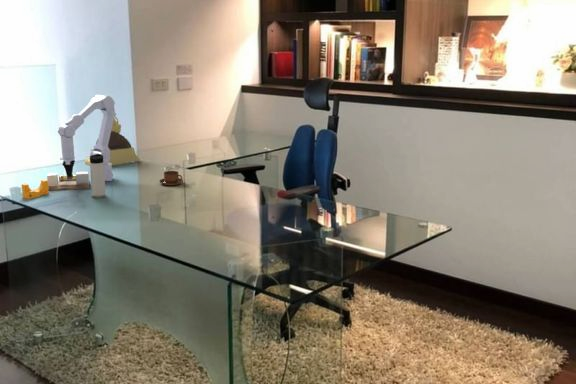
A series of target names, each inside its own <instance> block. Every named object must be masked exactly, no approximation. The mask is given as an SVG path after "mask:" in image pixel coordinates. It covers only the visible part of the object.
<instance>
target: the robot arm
mask: <svg viewBox="0 0 576 384" xmlns="http://www.w3.org/2000/svg"><path fill="white" fill-rule="evenodd" d="M115 103H116V102H115V100H114V98H113V97H111V96H109V95H103V94H96V95H94V97H92V98H91V100H90V101H89V103H88V104H86V106H85V107H84V108H83V109H82V110H81V111H80V112H79V113H75V114H72V115H71V118H70V119H69V120H67V121H65V123H64V124H61V125H60V126H59V127H58V129H57V133H58V135H59V136H60V144H61V157H60V158H59V160H60V161H63V162H62V166H63V169H64V170H65V174H66V176H67V177H72V175H73V170H74V166H75V163H76V160H75V159H76V158H75V149H74V147H75V146H74V136H75V134H76V132H77V130H78V129H79V128H80V127H81V126H82V125H83V124H85V119H86V118H87V117H88V116H89V115H91V114H92V113H93V112H94V111H96V110H100V111H101V113H102V114H103V115H102V120H101V124H100V129H99V134H98V137H97V139H98V142H97V141H96V142H97V144H96V143H95V145H94V146H93V148H92V149H93V150H92V152H91V151H90V154H89V156H92V155H96V154H100V155H103V161H104V176H105V182H113V177H114V176H113V175H114V174H113V167H112V166H113V165H112V163H108V162H109V160H110V149H109V148H108V143H109V138H110V134H111V129H112V125H113V121H114V118H115V117H114V116H115V113H116V110H115Z"/></svg>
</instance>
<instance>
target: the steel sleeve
mask: <svg viewBox="0 0 576 384" xmlns="http://www.w3.org/2000/svg"><path fill="white" fill-rule="evenodd" d="M75 175H76V185H89V186H90V175H89V171H76V172H75Z"/></svg>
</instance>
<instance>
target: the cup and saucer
mask: <svg viewBox="0 0 576 384" xmlns="http://www.w3.org/2000/svg"><path fill="white" fill-rule="evenodd" d="M164 181H165V182H166V183H163V182H164ZM183 182H184V178H183V176H182V175H180V174H179V171H176V170H166V171H164V172H163V178H161V179H160V180H159V183H160V184H161V185H163V184H164V186H179V185H181V184H182V183H183Z"/></svg>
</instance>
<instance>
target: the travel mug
mask: <svg viewBox="0 0 576 384" xmlns="http://www.w3.org/2000/svg"><path fill="white" fill-rule="evenodd" d="M89 156H90V155H89ZM89 169H90V186H91V187H90V188H91V197H92V198H95V199H102V198H105V197H106V194H107V193H106V181H105V176H104V161H103V155H100V154H96V155H92V156H90V166H89Z"/></svg>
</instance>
